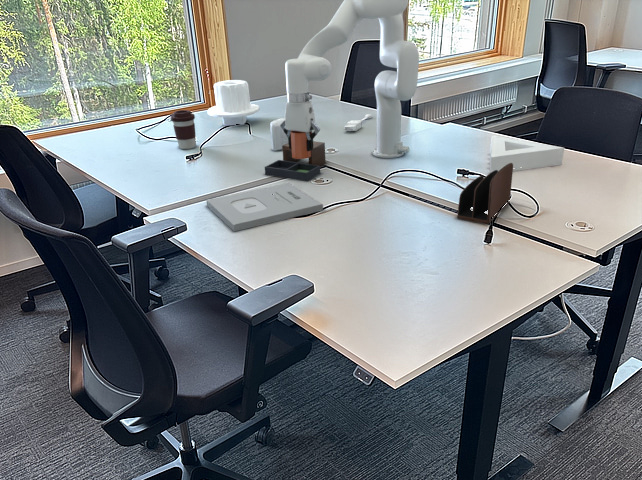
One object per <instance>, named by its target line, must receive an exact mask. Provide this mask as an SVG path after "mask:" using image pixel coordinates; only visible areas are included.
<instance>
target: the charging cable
mask: <svg viewBox="0 0 642 480" xmlns="http://www.w3.org/2000/svg"><path fill="white" fill-rule="evenodd" d="M371 118H372V114H371V113H366V114H365V115H364V117H363V118H362V119H360V120H359V119H357V120H355V119H351V120H349V121H347V123H346V125H344V126H343V130H344V131H346V132H347V131H348V132H357V131H358V130H360V129H361V128H362V122H363V121H365V120H370V119H371Z"/></svg>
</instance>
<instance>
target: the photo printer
mask: <svg viewBox="0 0 642 480" xmlns="http://www.w3.org/2000/svg"><path fill="white" fill-rule="evenodd" d="M284 121H285V117H281V118H278V119H277V118H276V119H274V120H272V121H271V122H270V123H269V126H270V129H269V130H270V141H271V149H272V151H281V150H283V149H282V146H283V145H285V144H287V143H288V137H287V136H286V134H285V133H284V131H283V129H282V128H281V127H280V125H281V124H282V123H283V122H284Z"/></svg>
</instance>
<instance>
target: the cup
mask: <svg viewBox="0 0 642 480" xmlns="http://www.w3.org/2000/svg"><path fill="white" fill-rule="evenodd" d="M290 134H291V149H292V158H295V159H300V160H305V159H308V158H309V157H311V151H307V142H306V141H307V140H308V138H307V136H306V133H305V132H297V131H290ZM309 134H310V132H309Z"/></svg>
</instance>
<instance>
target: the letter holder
mask: <svg viewBox="0 0 642 480" xmlns="http://www.w3.org/2000/svg"><path fill="white" fill-rule="evenodd" d="M513 173H514V171H513V164H512V163H509V164H507V165H506V166H504V167H503V168H502V169H500V170H499V171H498V170H495V171H493V172H491V173H490V172H489V173H488V174H486V176H484V175H479V176H478V177H476V178H475V179H473V180H472V181H471V182H470V183H469V184H468V185H467V186H465V187H464V188H463V190H462V191H461V192H460V194H459V198H458V205H457V215H456V218H457V219H459V220H465V221H469V222H474V223H480V224H485V225H489V224H490V223H491V222H492V221H493V220H494V219H495V218H496V217H497V216H498V215H499V214H500V213H501V212H502V211H503V210H504V209H505V208H506V207H507V205H509V204H510V202H511V194H512V184H513V183H512V182H513ZM508 200H510V201H509V202H508V203H507V204H506V205H505V206H504V207H503V208H502V209H501V210H500V211H499V209H500V208H501V207H502V206H503V205H504V204H505V203H506V202H507V201H508ZM471 207H473V211H471V210H470V208H471ZM487 210H488V215H487V214H485V213H484V212H485V211H487ZM498 211H499V212H498ZM497 212H498V213H497ZM496 213H497V214H496ZM495 214H496V215H495ZM494 215H495V216H494ZM491 217H493V218H492V219H491Z"/></svg>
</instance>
